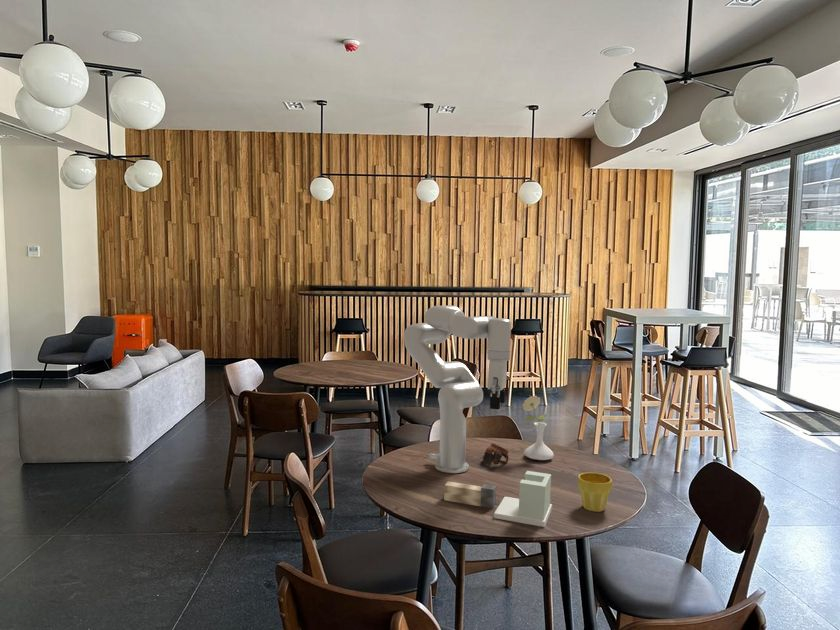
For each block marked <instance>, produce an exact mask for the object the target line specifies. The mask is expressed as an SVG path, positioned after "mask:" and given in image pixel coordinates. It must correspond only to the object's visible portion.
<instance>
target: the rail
mask: <svg viewBox="0 0 840 630" xmlns="http://www.w3.org/2000/svg"><path fill="white" fill-rule="evenodd" d="M443 494H444V496H443V497H444V498H443V500H444V501H448V502H453V503H459V504H463V505H464V504H465V505H470V506H476V507H482V508H488V509H494V508H495V507H496V504H497V485H494V484H493V485H492V484H488V483H487V484H486V483H484V484H483V485H482V486H480V485H474V484H469V483H468V484H467V483H461V482H455V481H450V480H448V481H447V482H446V483H445V484H444V493H443Z"/></svg>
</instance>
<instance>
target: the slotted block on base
mask: <svg viewBox="0 0 840 630" xmlns="http://www.w3.org/2000/svg"><path fill="white" fill-rule="evenodd" d="M551 484H552V474H550V473H545V472H538V471H532V470H531V471H530V470H526V472H525V473H524V479H521V480H520V481H519V489H518V490H519V493H518V494H519V497H518V498H517V497H510V496H504V497H503V499H502V500H501V501H500V503H499V505H498V507H497V508H496V509H495V511H494V513H493V519H498V520H504V521H509V522H514V523H519V524H525V525H532V526H537V527H541V528H543V527H544V528H545V527H546V525H547V522H548V521H549V520H548V519H549V517H550V514H551V512H552V510H553V504H552V503H551V488H552V487H551V486H552V485H551Z"/></svg>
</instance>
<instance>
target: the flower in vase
mask: <svg viewBox="0 0 840 630" xmlns="http://www.w3.org/2000/svg"><path fill="white" fill-rule="evenodd" d="M540 402H541V397H538V396H537V395H533V396H532V395H530V396H529V397H528V398H526V400H523V403H522V405H521V407H522V410H524V411H526V412H530V411H533V414H534V416H533V415H528V416H527V417H526V418H525V419H524V420H525V421H529V422H531V421H533V420H534V419H535V420H536V421H537V422H536V421H534V422H533V425H534V426H535V429H536V440H535V442H534V443H533V444H532V445H530V446H528V447H527V448H525V450H524V451H523V452H524V455H525V456H526V457H527V458H529V459H531V460H537V461H549V460H551V459H553V458H554V456H555V454H554V452H553V451H552V450H551V449H550V448H549V447H548V446H547V445H546V444H545V443H544V441H543V437H544V430H545V428H546V426H547V423H546V422H541V421H544V420H545V419H546V417H547V414H542V415H540V416H538V417H537V416H536V411H535V410H536V409H537V407H539V405H541V403H540Z"/></svg>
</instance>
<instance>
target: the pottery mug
mask: <svg viewBox="0 0 840 630" xmlns="http://www.w3.org/2000/svg"><path fill="white" fill-rule="evenodd" d="M502 457H504V458H505V459H506V460H505V463H508V461H509V451H508V449H506V448H504V447H503V446H500V445H498V444H495V443H492V442H491V445H489V446H488V447H486V449H485V452H484V455H483V456H482V460H481V462H482V463H484V464H485V465H488V466H489V467H490V466H492V464H493V465H496V466H497V465H499V464H500V462H501V459H502Z"/></svg>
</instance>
